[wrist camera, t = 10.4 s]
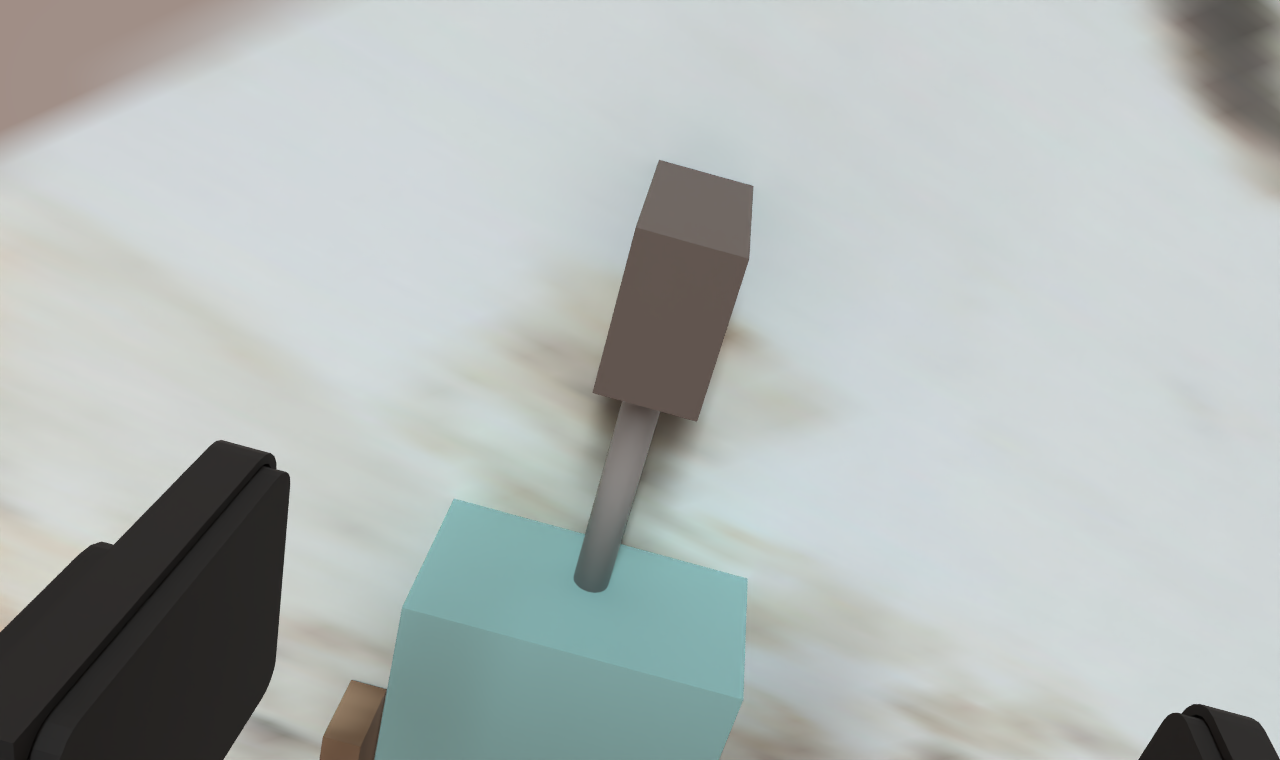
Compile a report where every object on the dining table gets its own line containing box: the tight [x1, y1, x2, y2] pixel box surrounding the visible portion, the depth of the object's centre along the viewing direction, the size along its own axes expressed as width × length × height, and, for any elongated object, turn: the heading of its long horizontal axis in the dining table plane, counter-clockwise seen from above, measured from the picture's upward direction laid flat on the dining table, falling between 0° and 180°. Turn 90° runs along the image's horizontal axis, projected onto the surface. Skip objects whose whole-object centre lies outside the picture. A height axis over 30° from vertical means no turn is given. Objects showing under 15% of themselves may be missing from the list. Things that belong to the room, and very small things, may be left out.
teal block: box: [374, 160, 753, 760], centre depth 28 cm, size 9×18×5 cm, turn 166°
